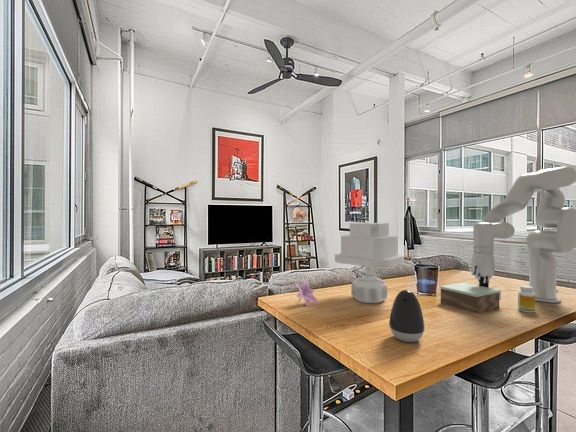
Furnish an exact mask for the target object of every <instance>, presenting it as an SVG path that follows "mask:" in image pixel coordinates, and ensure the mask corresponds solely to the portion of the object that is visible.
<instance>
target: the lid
mask: <svg viewBox="0 0 576 432" xmlns="http://www.w3.org/2000/svg"><path fill="white" fill-rule="evenodd" d="M439 288H440V290H441V289H445V290H449V291H453V292H457V293H461V294H466V295H470V296H474V297H480V296H485V295H490V294H495V293H499V301H500V300H502V298H501V294H502V293H501V292H502V290H501V289H497V288H492V287H489V288H488V287H483V286H479V284H478V285H477V284H472V283H467V282H459V283H458V282H457V283H452V284H444V285H441V286H439Z"/></svg>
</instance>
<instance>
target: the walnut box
mask: <svg viewBox="0 0 576 432" xmlns="http://www.w3.org/2000/svg"><path fill="white" fill-rule="evenodd" d="M440 304H445V305H449V306H452V307H455V308H459V309H462V310H466V311H469V312H472V313H476V314H479V313H483V312H487V311H492V310H495V309H499V308H500V300H499V293H495V294H490V295H485V296H480V297H474V296H470V295H466V294H461V293H457V292H453V291H449V290H445V289H441V288H440Z"/></svg>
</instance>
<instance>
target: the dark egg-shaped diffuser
mask: <svg viewBox="0 0 576 432" xmlns="http://www.w3.org/2000/svg"><path fill="white" fill-rule="evenodd" d="M388 323H389V325H388V326H389V328H390V330H391V333H392V335H393V336H394V337H395V338H396V339H397V340H399V341H401V342H405V343H414V342H418V341H419V340H421V338H422V337H423V334H424V332H425V330H426V329H425V321H424V315H423V311H422V308H421V303H420V302H419V300H418V297H417V296H416V294H415V292H412V291H411V290H409V289H403V290H400V291H399V292H398V293H397V294H396V296H395V298H394V300H393V303H392V306H391V311H390V314H389V322H388Z"/></svg>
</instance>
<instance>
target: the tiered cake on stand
mask: <svg viewBox="0 0 576 432" xmlns="http://www.w3.org/2000/svg"><path fill="white" fill-rule="evenodd" d="M398 237H399V236H398V235H391V234H390V223H389V222H350V223H349V234H347V235H346V234H345V235H340V253H335V254H334V262H336V263H337V264H342V265H352V266H360V267H365V268H364V273H361V276H358V277H355V279H353V281H351V286H350V287H351V290H350V292H351V293H350V294H351V296H352V297H354V299H356V300H357V302H360V303H366V304H379V303H381V302H383V301H385V300H387V299H388V285H387V284H386V283H385V281H384V280H383V279H381V278H379V277H377V274H376V273H374V268H391V267H394V266H399V265H402V264H404V263H405V255H404V254H399V253H398V242H399V241H398V239H399V238H398Z"/></svg>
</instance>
